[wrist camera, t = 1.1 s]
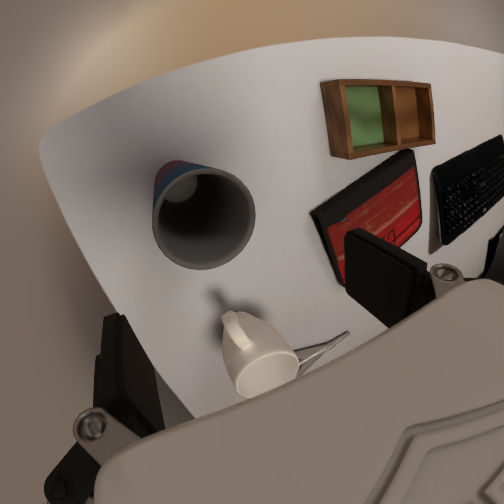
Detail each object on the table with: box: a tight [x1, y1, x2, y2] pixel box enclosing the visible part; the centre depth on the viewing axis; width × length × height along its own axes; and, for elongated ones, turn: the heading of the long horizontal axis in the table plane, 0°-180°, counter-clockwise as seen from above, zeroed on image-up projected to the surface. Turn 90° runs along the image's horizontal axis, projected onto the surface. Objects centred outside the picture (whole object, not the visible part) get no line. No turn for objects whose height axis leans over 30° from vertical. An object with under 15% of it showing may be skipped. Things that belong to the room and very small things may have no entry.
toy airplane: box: [294, 332, 350, 378], centre depth 50 cm, size 8×21×2 cm, turn 109°
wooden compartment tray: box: [320, 79, 436, 160], centre depth 35 cm, size 10×20×4 cm, turn 101°
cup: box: [152, 161, 256, 270], centre depth 25 cm, size 7×7×15 cm
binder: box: [310, 149, 422, 287], centre depth 43 cm, size 16×2×21 cm
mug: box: [221, 311, 299, 398], centre depth 36 cm, size 12×8×11 cm
